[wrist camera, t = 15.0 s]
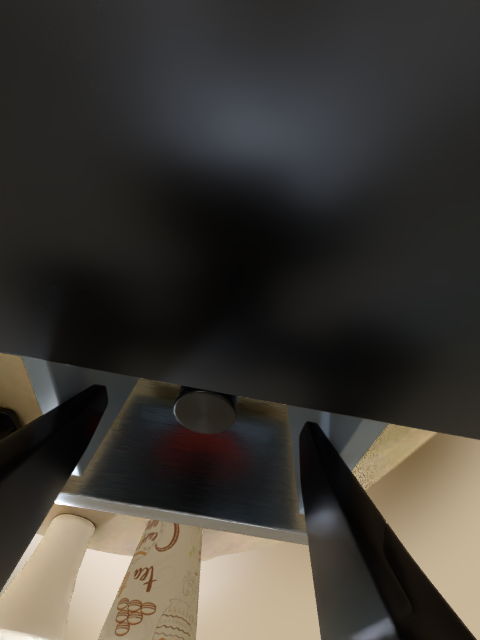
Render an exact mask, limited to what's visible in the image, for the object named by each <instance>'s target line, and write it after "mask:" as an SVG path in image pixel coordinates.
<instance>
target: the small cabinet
mask: <svg viewBox="0 0 480 640" xmlns="http://www.w3.org/2000/svg"><path fill="white" fill-rule="evenodd" d="M0 353H6V354H11V355H17V356H22V357H28V358H33V359H39V360H44V361H50V362H55V363H60V364H66V365H71V366H77V367H82V368H88V369H93V370H99V371H104V372H110V373H115V374H121V375H126V376H132V377H137V378H143V379H148V380H154V381H159V382H165V383H170V384H176V385H181V386H187V387H192V388H198V389H203V390H209V391H214V392H220V393H225V394H231V395H236V396H241V397H247V398H252V399H258V400H263V401H269V402H274V403H280V404H285V405H291V406H296V407H302V408H307V409H313V410H318V411H324V412H329V413H335V414H340V415H346V416H351V417H357V418H362V419H368V420H373V421H379V422H384V423H390V424H395V425H401V426H406V427H412V428H417V429H422V430H428V431H433V432H439V433H445V434H450V435H456V436H462V437H467V438H472V439H477V440H480V0H0Z"/></svg>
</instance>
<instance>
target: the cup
mask: <svg viewBox="0 0 480 640" xmlns="http://www.w3.org/2000/svg"><path fill="white" fill-rule="evenodd" d="M94 531H95V528H94V525H93V523H91V522H90V521H89V520H87V519H85V518H83V517H79V516H76V515H70V514H62V515H58V516H57V517H55V518H54V519H53V520H52V522H51V524H50V526H49V528H48V530H47V532H46V533H45V535H44V537H43V538H42V540H41V542H40V543H39V545H38V547H37V548H36V550H35V551H34V553H33V554H32V555H31V557H30V558H29V560H28V561H27V563H26V564H25V566H24V567H23V568H22V570H21V571H20V573H19V574H18V575H17V576H16V577H15V578H14V579H13V581H12V582H11V584H10V585H9V587H8V588H7V589H6V591H5V592H4V593H3V595H2V596H1V597H0V640H65V639H66V632H67V622H68V613H69V604H70V601H71V597H72V594H73V591H74V587H75V581H76V577H77V573H78V570H79V568H80V565H81V562H82V559H83V557H84V554H85V552H86V549H87V547H88V544H89V542H90V539H91V537H92V535H93V533H94Z"/></svg>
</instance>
